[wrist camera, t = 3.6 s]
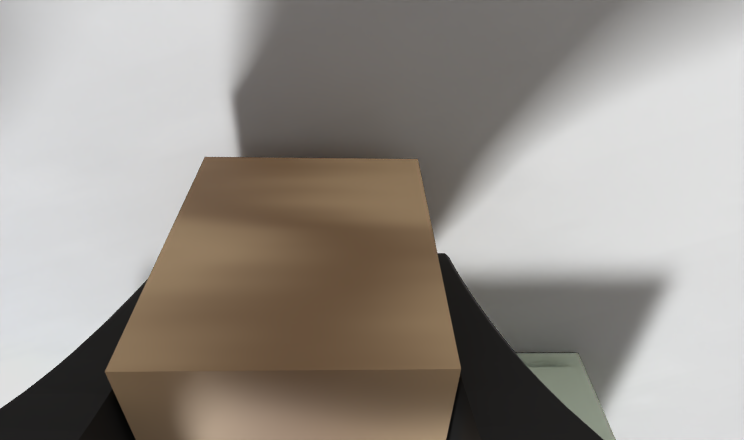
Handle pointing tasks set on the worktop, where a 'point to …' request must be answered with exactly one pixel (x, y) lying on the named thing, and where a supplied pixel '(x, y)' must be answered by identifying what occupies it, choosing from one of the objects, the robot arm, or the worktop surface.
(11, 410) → the robot arm
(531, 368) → the bin
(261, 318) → the oak block
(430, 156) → the worktop surface
